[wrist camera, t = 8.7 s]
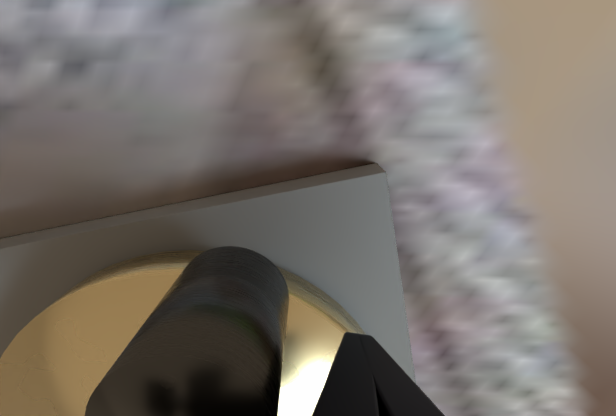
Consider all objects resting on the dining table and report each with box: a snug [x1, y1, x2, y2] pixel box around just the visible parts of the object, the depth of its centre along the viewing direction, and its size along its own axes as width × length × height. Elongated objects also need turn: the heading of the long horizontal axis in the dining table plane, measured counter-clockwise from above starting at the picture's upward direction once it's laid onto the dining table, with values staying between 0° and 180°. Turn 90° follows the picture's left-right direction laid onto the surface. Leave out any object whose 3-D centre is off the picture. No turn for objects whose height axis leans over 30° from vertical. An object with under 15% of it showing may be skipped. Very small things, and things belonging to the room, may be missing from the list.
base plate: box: [0, 163, 416, 384], centre depth 13 cm, size 15×15×2 cm
